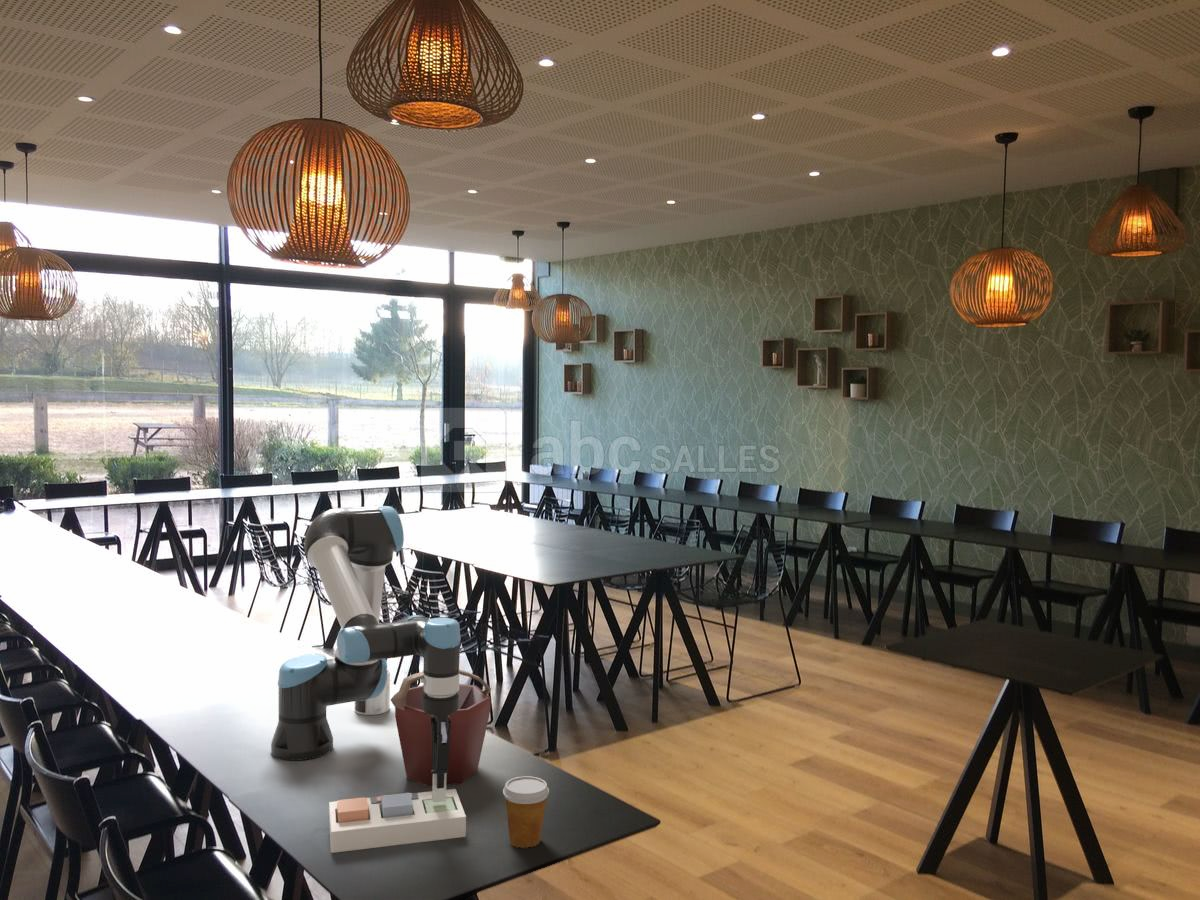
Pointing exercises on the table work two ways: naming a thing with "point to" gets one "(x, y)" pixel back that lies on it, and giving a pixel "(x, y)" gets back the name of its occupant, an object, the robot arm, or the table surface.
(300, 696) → the robot arm
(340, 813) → the terracotta key
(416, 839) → the keypad
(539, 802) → the disposable coffee cup
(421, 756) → the bucket
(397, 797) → the slate key
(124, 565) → the table surface
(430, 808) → the sage key
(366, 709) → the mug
